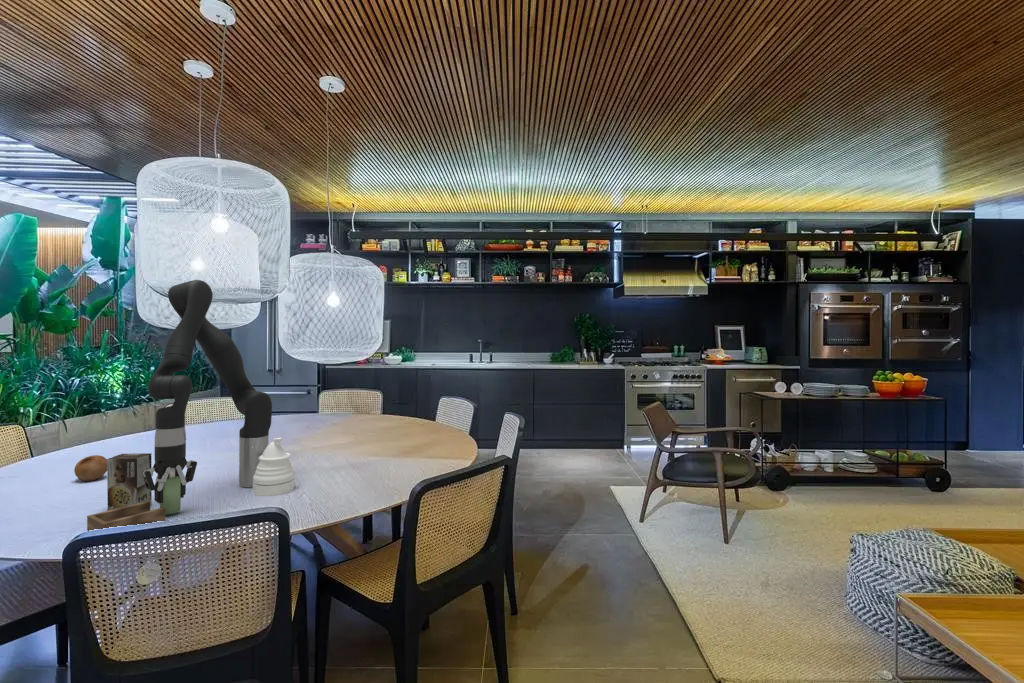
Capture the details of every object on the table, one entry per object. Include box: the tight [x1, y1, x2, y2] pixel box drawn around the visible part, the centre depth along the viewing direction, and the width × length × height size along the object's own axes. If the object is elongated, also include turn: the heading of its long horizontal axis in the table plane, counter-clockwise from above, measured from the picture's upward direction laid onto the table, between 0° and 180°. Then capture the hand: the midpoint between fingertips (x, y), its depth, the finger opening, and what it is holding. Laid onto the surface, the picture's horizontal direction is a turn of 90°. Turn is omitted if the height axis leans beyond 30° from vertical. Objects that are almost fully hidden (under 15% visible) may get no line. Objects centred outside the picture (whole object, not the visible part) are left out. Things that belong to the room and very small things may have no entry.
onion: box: [73, 454, 108, 482], centre depth 174 cm, size 10×9×10 cm
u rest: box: [86, 501, 166, 531], centre depth 132 cm, size 14×11×4 cm
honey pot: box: [252, 437, 295, 497], centre depth 165 cm, size 13×13×18 cm
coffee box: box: [106, 452, 153, 511], centre depth 146 cm, size 9×6×16 cm
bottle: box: [159, 468, 182, 515], centre depth 141 cm, size 5×5×13 cm
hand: (170, 499), depth 141 cm, fingers closed on bottle, 5 cm apart
